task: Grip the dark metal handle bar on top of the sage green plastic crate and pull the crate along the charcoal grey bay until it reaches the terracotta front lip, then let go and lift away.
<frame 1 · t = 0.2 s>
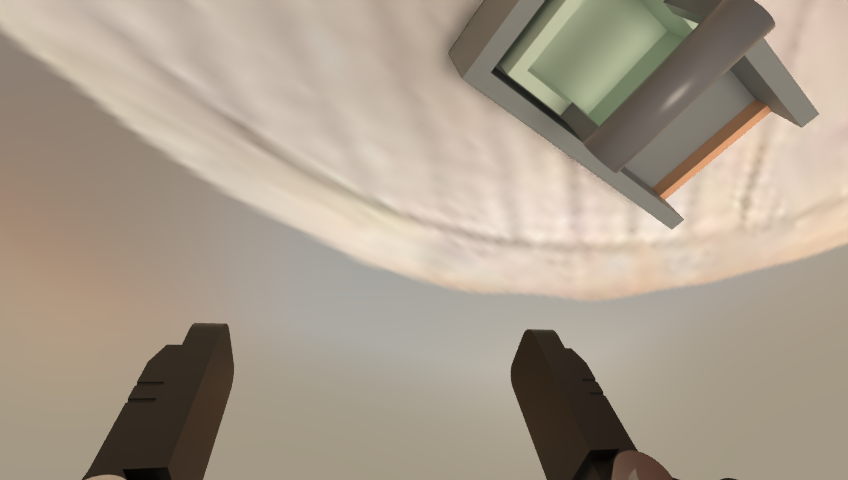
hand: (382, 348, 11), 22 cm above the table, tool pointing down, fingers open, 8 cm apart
crate: (624, 63, 23), point 7 cm above the table, slide at 0.0 cm
bay: (619, 71, 30), on the table
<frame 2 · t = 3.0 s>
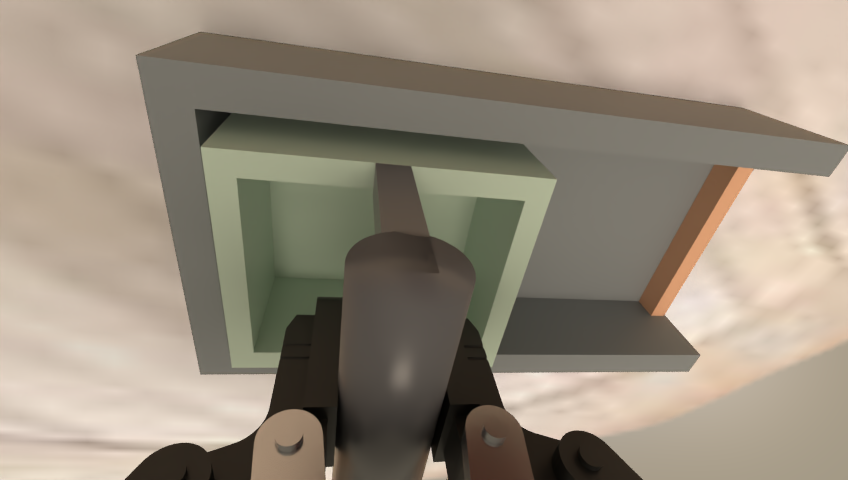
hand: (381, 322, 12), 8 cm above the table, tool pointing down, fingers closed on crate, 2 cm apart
crate: (380, 291, 13), point 7 cm above the table, slide at 0.0 cm, touching gripper
bay: (475, 205, 20), on the table
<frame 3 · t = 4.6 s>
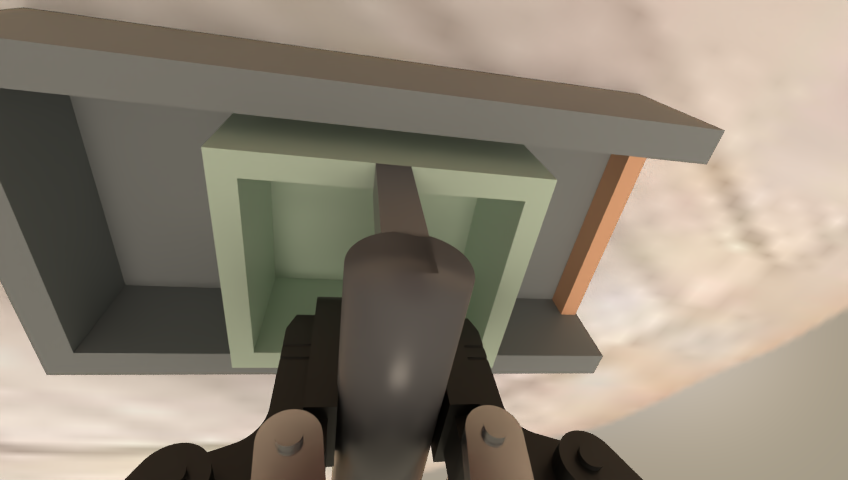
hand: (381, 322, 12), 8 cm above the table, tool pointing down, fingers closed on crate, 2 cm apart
crate: (380, 292, 13), point 7 cm above the table, slide at 5.5 cm, touching gripper
bay: (362, 197, 19), on the table
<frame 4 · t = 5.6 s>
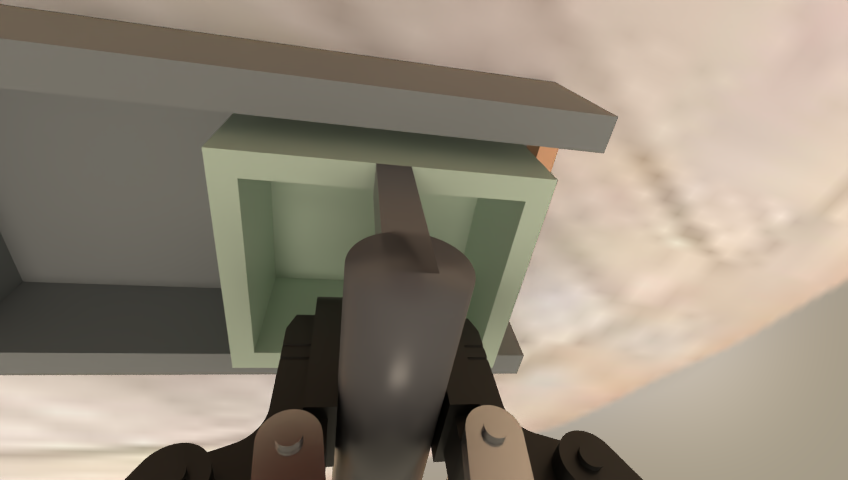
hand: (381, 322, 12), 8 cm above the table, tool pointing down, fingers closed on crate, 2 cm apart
crate: (380, 292, 13), point 7 cm above the table, slide at 9.4 cm, touching gripper
bay: (271, 190, 18), on the table
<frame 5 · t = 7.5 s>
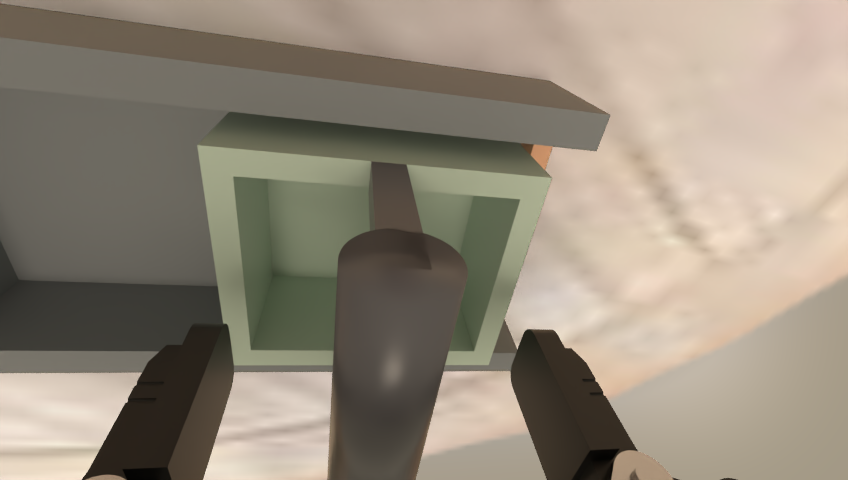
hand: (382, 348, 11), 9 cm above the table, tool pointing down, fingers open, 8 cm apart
crate: (376, 289, 13), point 7 cm above the table, slide at 9.5 cm
bay: (267, 188, 18), on the table
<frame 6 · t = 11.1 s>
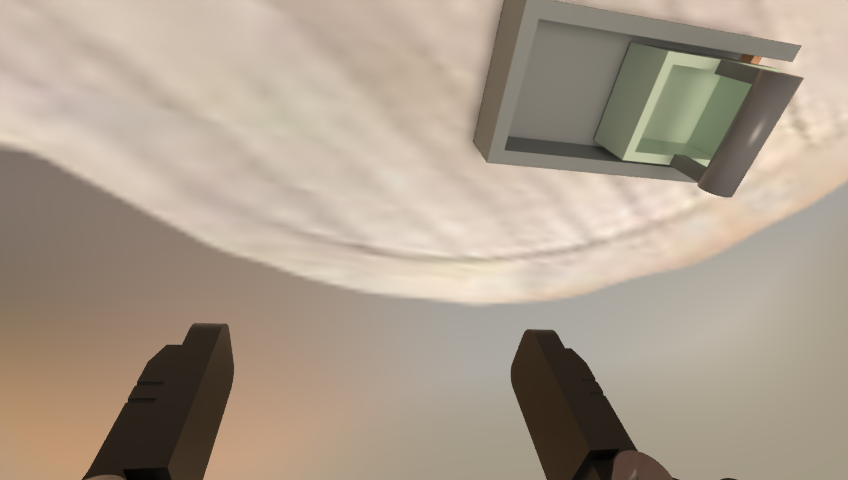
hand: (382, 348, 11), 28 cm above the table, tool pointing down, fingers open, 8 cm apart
crate: (703, 118, 32), point 7 cm above the table, slide at 9.5 cm
bay: (608, 91, 37), on the table
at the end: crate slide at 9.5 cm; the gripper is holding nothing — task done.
